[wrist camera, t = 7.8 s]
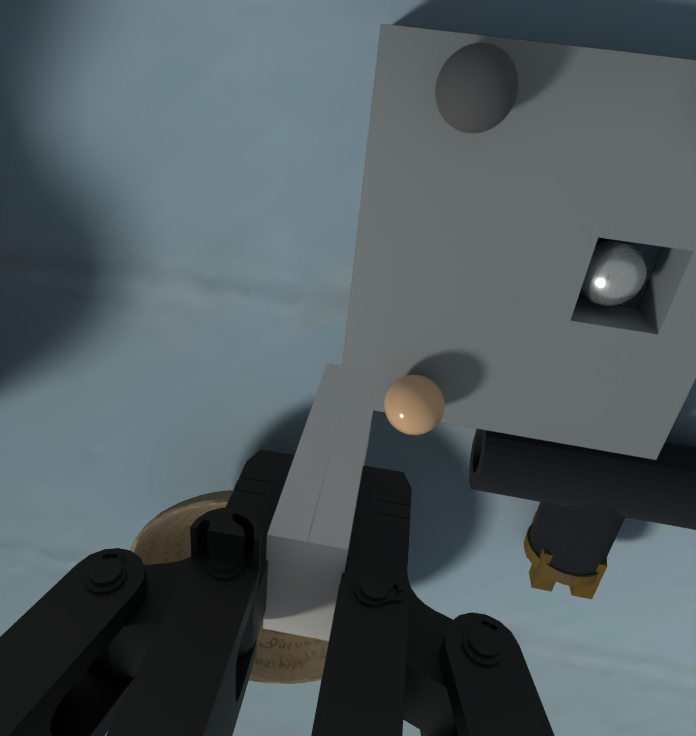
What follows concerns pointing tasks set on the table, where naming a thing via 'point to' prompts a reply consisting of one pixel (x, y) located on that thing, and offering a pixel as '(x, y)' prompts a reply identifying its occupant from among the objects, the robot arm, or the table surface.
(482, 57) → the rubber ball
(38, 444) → the table surface
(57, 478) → the table surface
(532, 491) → the pipe connector
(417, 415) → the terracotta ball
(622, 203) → the slate board
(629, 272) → the steel ball
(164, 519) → the bowl
